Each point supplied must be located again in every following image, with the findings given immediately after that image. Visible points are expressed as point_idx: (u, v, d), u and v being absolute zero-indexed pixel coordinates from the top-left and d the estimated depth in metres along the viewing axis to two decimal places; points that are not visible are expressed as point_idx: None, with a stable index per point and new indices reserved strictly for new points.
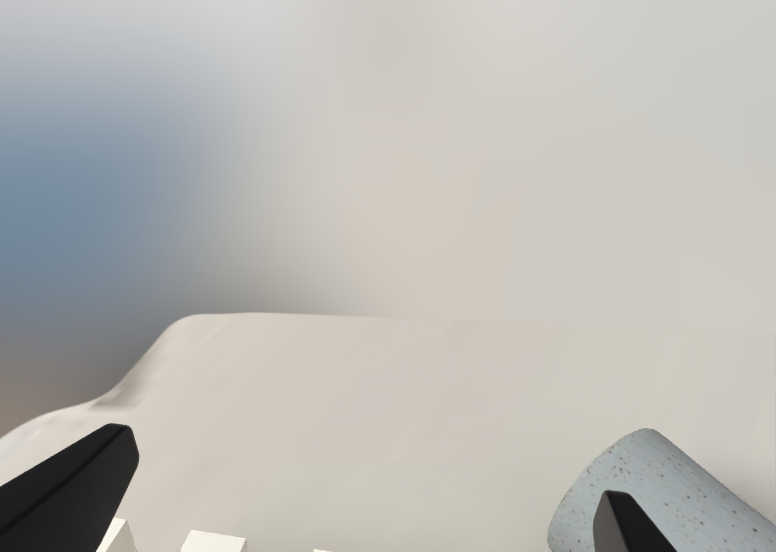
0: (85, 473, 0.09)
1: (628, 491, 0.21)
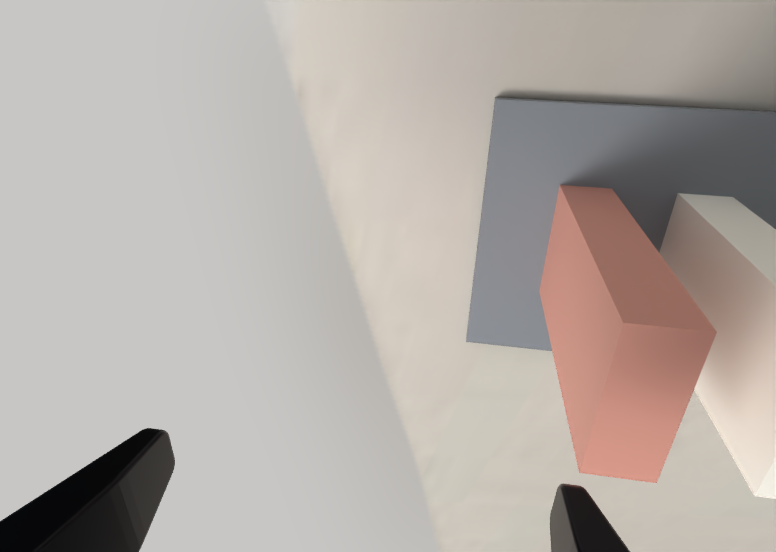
0: (126, 479, 0.09)
1: None
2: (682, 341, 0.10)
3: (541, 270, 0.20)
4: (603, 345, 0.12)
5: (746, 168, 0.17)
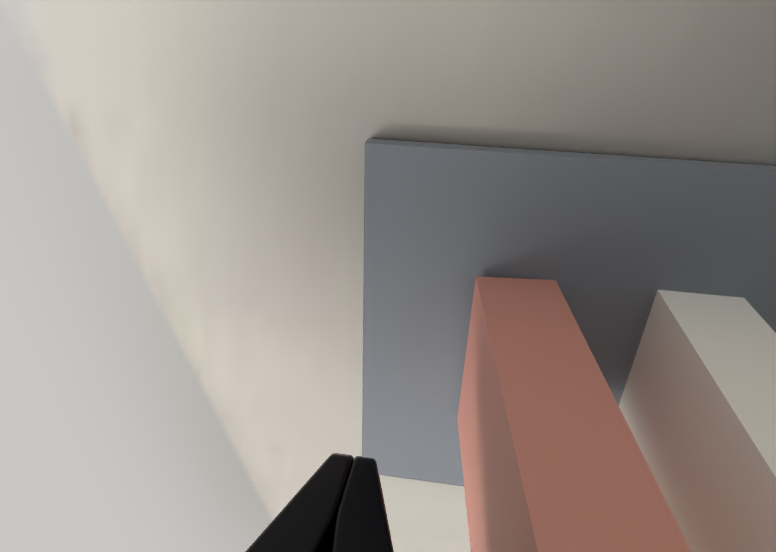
0: None
1: None
2: None
3: (458, 387, 0.13)
4: None
5: (767, 256, 0.11)
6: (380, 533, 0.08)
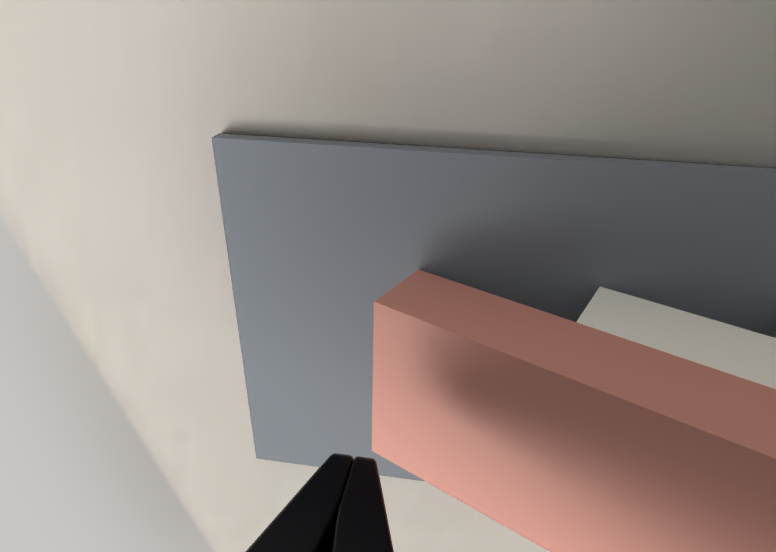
0: None
1: None
2: None
3: (332, 374, 0.14)
4: None
5: (594, 243, 0.11)
6: (380, 533, 0.08)
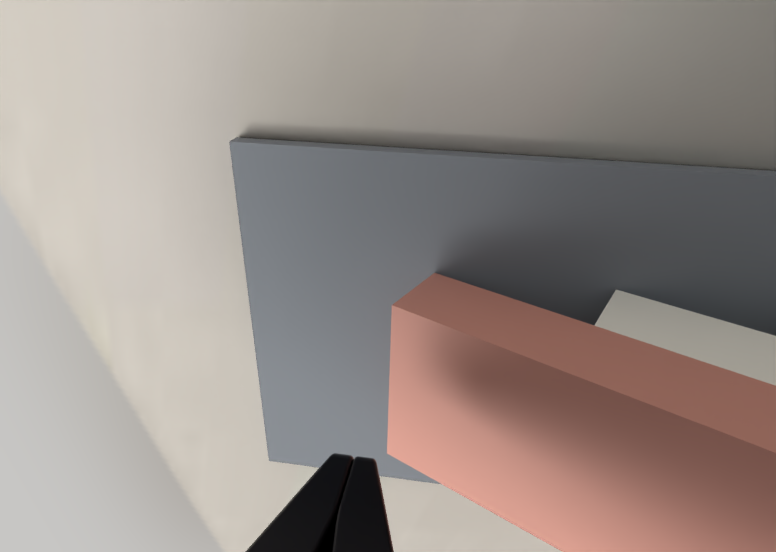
0: None
1: None
2: None
3: (346, 376, 0.14)
4: None
5: (611, 247, 0.11)
6: (380, 533, 0.08)
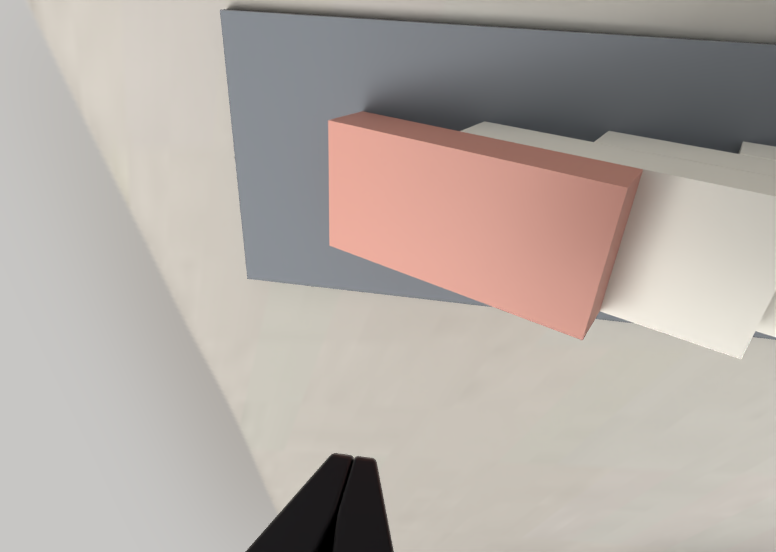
0: None
1: None
2: (634, 186, 0.13)
3: (303, 200, 0.19)
4: (584, 223, 0.13)
5: (478, 87, 0.17)
6: (380, 533, 0.08)
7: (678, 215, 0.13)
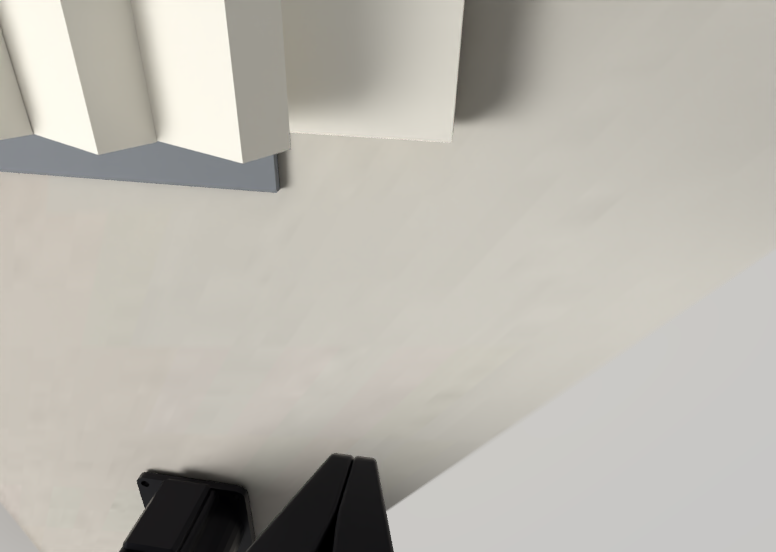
0: None
1: None
2: None
3: None
4: None
5: None
6: (380, 533, 0.08)
7: None
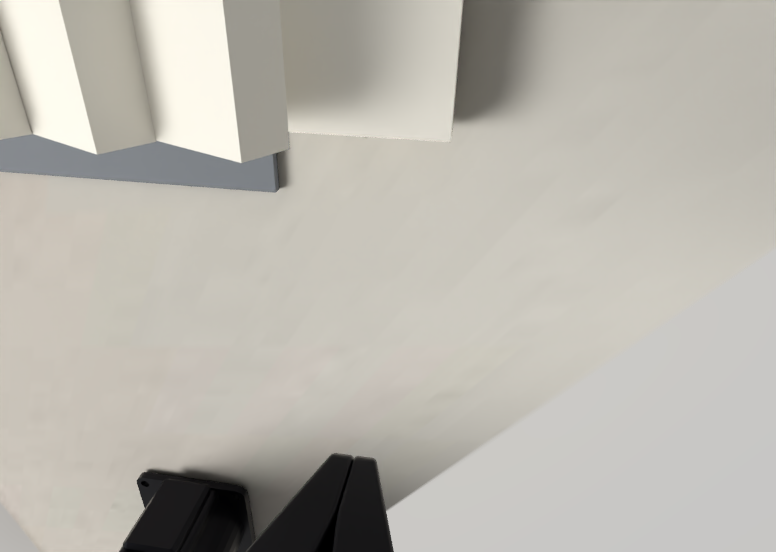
0: None
1: None
2: None
3: None
4: None
5: None
6: (380, 533, 0.08)
7: None
